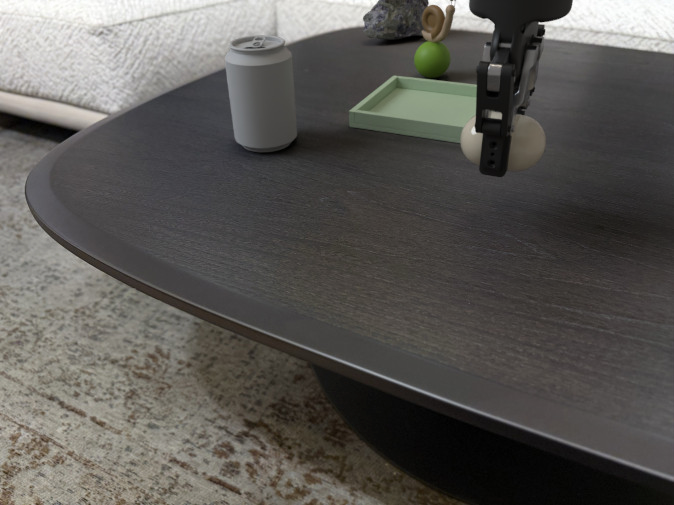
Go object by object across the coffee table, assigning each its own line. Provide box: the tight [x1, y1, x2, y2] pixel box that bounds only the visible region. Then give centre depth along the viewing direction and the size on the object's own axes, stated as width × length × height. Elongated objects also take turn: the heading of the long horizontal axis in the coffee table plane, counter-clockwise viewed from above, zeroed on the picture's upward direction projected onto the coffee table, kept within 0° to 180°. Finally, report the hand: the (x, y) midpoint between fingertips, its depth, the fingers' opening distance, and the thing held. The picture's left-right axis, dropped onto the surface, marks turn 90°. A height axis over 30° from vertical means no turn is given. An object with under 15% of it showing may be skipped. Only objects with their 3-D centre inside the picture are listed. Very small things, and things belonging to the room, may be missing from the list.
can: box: [224, 34, 298, 153], centre depth 69 cm, size 8×8×12 cm
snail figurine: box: [413, 0, 457, 79], centre depth 88 cm, size 5×6×12 cm
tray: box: [348, 74, 496, 144], centre depth 78 cm, size 16×16×2 cm
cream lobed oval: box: [459, 111, 547, 173], centre depth 52 cm, size 7×5×5 cm, turn 65°
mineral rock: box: [362, 0, 430, 41], centre depth 110 cm, size 13×11×10 cm
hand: (499, 160), depth 53 cm, fingers closed on cream lobed oval, 4 cm apart
